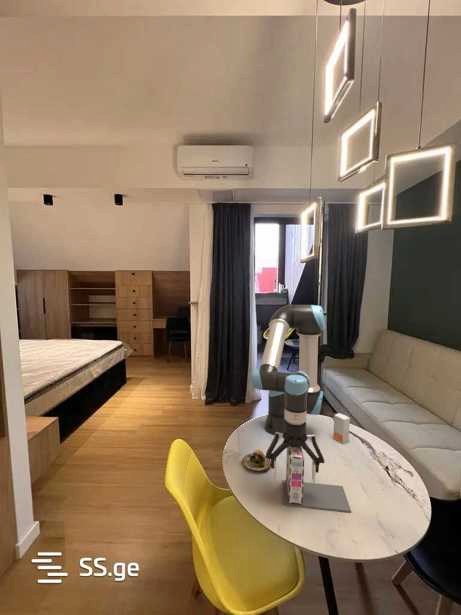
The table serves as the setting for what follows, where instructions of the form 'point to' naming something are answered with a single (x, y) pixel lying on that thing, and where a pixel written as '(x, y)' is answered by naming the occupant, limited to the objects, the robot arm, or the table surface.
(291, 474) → the candy bar box
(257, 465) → the plate of food
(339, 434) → the skincare box
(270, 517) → the table surface
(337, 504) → the mat
